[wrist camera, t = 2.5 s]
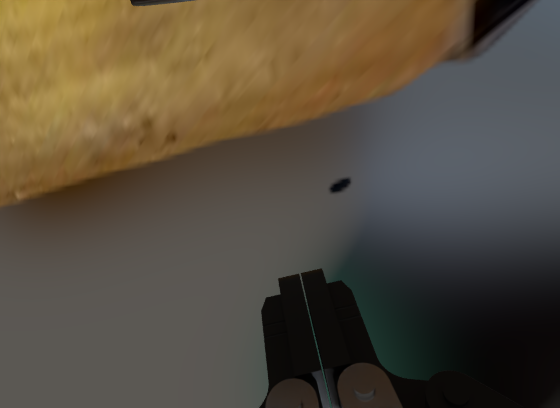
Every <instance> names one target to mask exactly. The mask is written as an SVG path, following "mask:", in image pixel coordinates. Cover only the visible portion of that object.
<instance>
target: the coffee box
mask: <svg viewBox="0 0 560 408" xmlns="http://www.w3.org/2000/svg"><path fill="white" fill-rule="evenodd" d="M130 1H131V4H132V5H133V6H148V5H157V4H167V3H177V2H185V1H194V0H130Z"/></svg>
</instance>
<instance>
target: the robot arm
mask: <svg viewBox="0 0 560 408" xmlns="http://www.w3.org/2000/svg"><path fill="white" fill-rule="evenodd" d="M301 276H302V281H303V285H304V290H305V293H306V299H307V303H308V307H309V312H310V316H311V320H312V324H313V329H314V333H315V337H316V341H317V345H318V350H319V354H320V358H321V362H322V366H323V371H324V375H325V379H326V383H327V387H328V391H329V396H330V400H331V404H332V408H524V407H522V406H520V405H519V404H517V403H515V402H513V401H512V400H510V399H508V398H506V397H505V396H503V395H501V394H499V393H498V392H496V391H494V390H492V389H490V388H489V387H487V386H485V385H483V384H481V383H480V382H478V381H476V380H475V379H473V378H471V377H469V376H467V375H465V374H463V373H460V372H457V371H442V372H438V373H436V374H435V375H433V376H432V377H431V378H430V379H429V381H425V380H414V379H406V378H402V377H398V376H396V375H394V374H392V373H390V372H389V371H387V370H386V369H385V368H384V367H383V366H382V365H381V363H380V362H379V360H378V358H377V356H376V353H375V351H374V348H373V345H372V343H371V340H370V337H369V335H368V332H367V330H366V327H365V324H364V322H363V319H362V317H361V314H360V311H359V309H358V306H357V303H356V301H355V298H354V295H353V293H352V291H351V289H350V288H348V287H347V286H346V285H345V284H344V283H343V282H342V281H336V282H332V283H328V284H327V283H326V280H325V277H324V273H323V270H322V269H317V270H312V271H308V272H304V273H301ZM278 281H279V287H280V293H281V294H280V295H275V296H271V297H267V298H266V299H265V302H264V305H263V308H262V311H261V314H262V323H263V333H264V342H265V352H266V361H267V370H268V380H269V388H268V393H267V396H266V398H265V400H264V402H263V403H262V405H261V406H260V407H259V408H330V405H329V400H328V396H327V391H326V387H325V382H324V378H323V373H322V369H321V365H320V361H319V356H318V352H317V348H316V344H315V340H314V335H313V331H312V327H311V322H310V318H309V314H308V310H307V305H306V302H305V297H304V293H303V289H302V284H301V280H300V276H299V274H295V275H291V276H287V277H283V278H279V279H278Z"/></svg>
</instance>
